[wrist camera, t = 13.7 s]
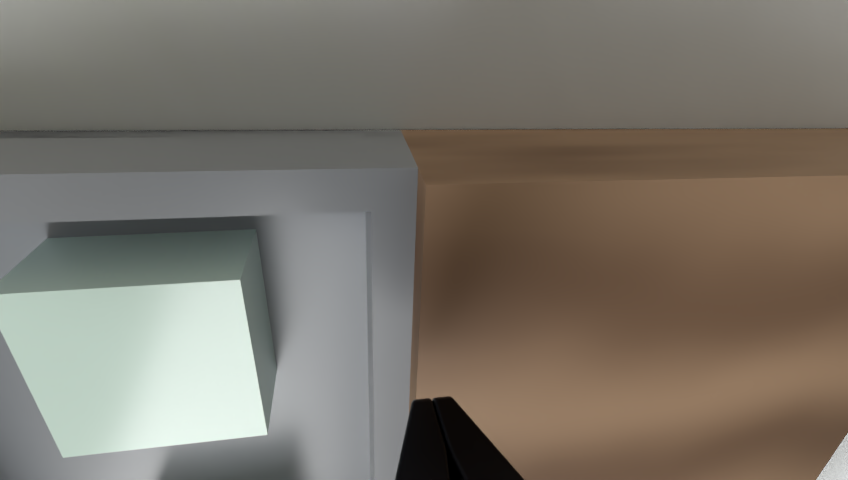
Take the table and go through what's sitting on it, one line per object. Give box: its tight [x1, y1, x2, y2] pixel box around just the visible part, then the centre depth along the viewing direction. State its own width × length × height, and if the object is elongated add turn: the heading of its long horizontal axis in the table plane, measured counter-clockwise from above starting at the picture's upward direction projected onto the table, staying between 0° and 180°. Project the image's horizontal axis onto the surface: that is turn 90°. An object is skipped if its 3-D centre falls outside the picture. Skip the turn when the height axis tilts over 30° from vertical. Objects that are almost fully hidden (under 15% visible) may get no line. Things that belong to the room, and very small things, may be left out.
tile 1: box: [0, 229, 277, 458], centre depth 12 cm, size 5×5×2 cm
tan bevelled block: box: [401, 128, 848, 480], centre depth 17 cm, size 20×15×4 cm
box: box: [0, 130, 418, 480], centre depth 15 cm, size 20×14×3 cm
